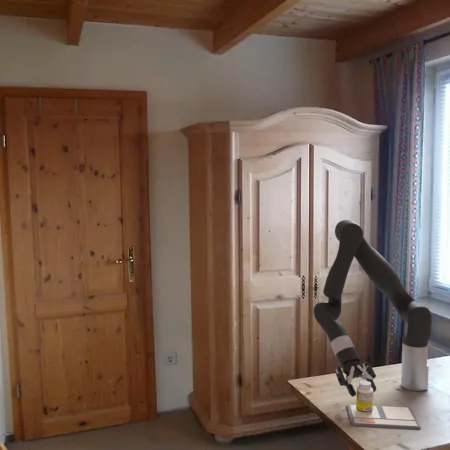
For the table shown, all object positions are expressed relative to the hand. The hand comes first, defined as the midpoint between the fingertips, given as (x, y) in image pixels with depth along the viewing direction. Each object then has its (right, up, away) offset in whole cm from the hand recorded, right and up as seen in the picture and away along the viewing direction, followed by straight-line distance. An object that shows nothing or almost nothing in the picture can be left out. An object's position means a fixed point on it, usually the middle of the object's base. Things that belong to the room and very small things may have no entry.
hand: (364, 393), depth 174 cm
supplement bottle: (0, -6, 0) cm, 6 cm away
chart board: (+5, -7, -2) cm, 9 cm away
